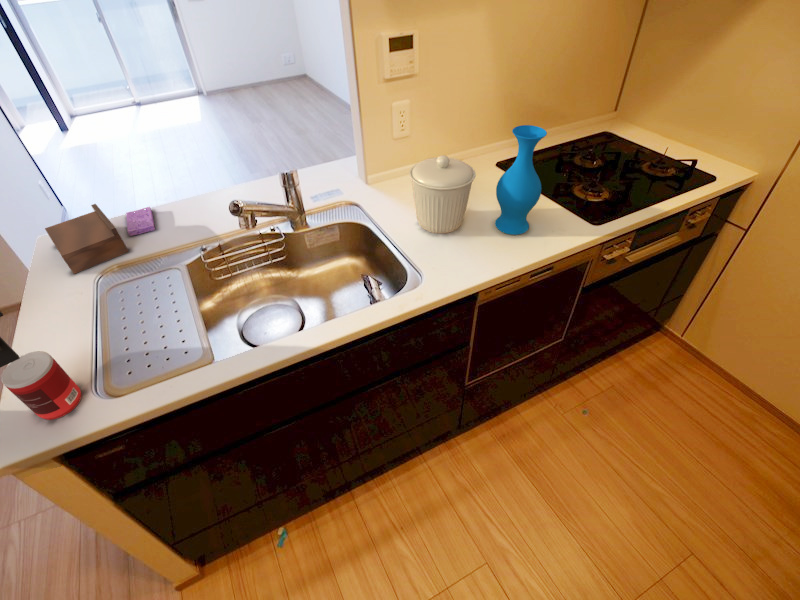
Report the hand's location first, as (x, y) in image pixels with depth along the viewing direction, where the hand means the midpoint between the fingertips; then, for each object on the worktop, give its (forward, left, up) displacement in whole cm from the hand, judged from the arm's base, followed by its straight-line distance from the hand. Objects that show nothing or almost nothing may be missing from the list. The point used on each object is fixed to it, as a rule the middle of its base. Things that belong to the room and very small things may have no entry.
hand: (1, 339), depth 70 cm
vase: (+113, -25, -19) cm, 117 cm away
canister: (+99, -9, -19) cm, 101 cm away
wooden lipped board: (+20, +52, -18) cm, 59 cm away
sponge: (+35, +56, -19) cm, 68 cm away
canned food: (0, 0, -19) cm, 19 cm away
